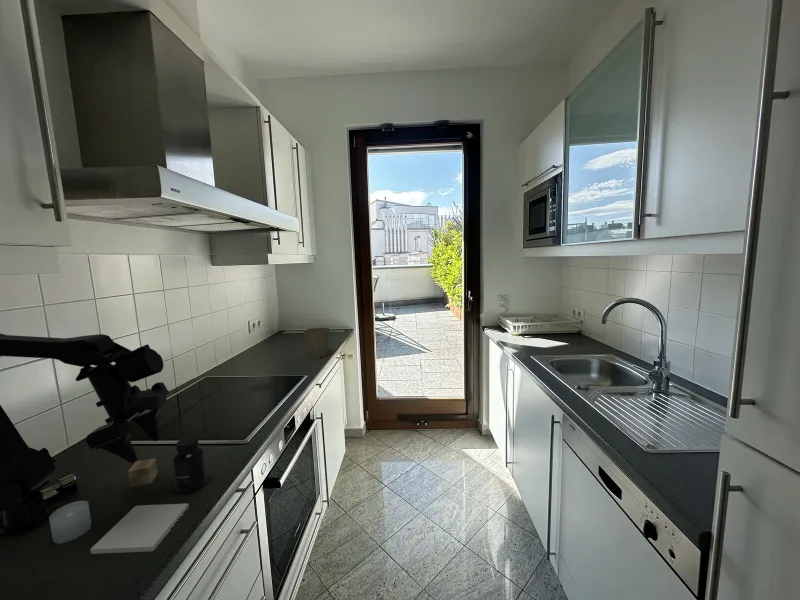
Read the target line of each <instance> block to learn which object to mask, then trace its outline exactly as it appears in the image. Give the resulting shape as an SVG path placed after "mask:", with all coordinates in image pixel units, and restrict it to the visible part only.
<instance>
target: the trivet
mask: <svg viewBox="0 0 800 600" xmlns="http://www.w3.org/2000/svg"><path fill="white" fill-rule="evenodd" d="M188 507H189V508H190V505H189V503H171V504H170V503H169V504H168V503H166V504H148V505H143V504H142V505H134V507H133V508H132V509H131V510H129V512H128V513H126V515H125V516H123V517H122V518H121V519H120V520H119V521H118V522H117V523H116V524H115V525H114V526H113V527H112V528H111V529H110V530H109V531H108V532H107V533H106V534H104V535H103V537H101V539H99V540H98V542H96V543H95V544H94V545H93V546H92V547H91V548H90V554H91V555H96V554H97V555H98V554H100V555H101V554H121V553H123V554H125V553H142V552H143V553H144V552H146V553H147V552H154V551H155V550H156V549H157V547H158V546H159V545H160V543H161V542H162V541H163V540H164V538H166V536H167V535H168V534H169V533H170V531H171V530H172V529H173V528H172V527H175V525H176V524H177V523H178V522H177V521H179V520H180V519H181V518H182V517H181V516H184V514H185V513H186V512H187V511H188V509H189V508H188ZM187 508H188V509H187ZM186 510H187V511H186ZM185 511H186V512H185ZM184 512H185V513H184ZM183 513H184V514H183ZM180 517H181V518H180ZM179 518H180V519H179ZM178 519H179V520H178ZM176 522H177V523H176ZM175 523H176V524H175ZM174 524H175V525H174ZM171 528H172V529H171Z"/></svg>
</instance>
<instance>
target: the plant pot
mask: <svg viewBox="0 0 800 600" xmlns="http://www.w3.org/2000/svg"><path fill="white" fill-rule="evenodd" d="M330 333H331V328H329V327H313V328H307V329H304V330H303V335H304V339H305V344H306V347H307V349H308V351H309V354H310V356H311V358H312V357H314V358H313V359H315V358H318V359H321V358H320V357H323V358H325V357H326V355H327V351H328V346H329V342H330V337H331V335H330ZM324 356H325V357H324Z"/></svg>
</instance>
